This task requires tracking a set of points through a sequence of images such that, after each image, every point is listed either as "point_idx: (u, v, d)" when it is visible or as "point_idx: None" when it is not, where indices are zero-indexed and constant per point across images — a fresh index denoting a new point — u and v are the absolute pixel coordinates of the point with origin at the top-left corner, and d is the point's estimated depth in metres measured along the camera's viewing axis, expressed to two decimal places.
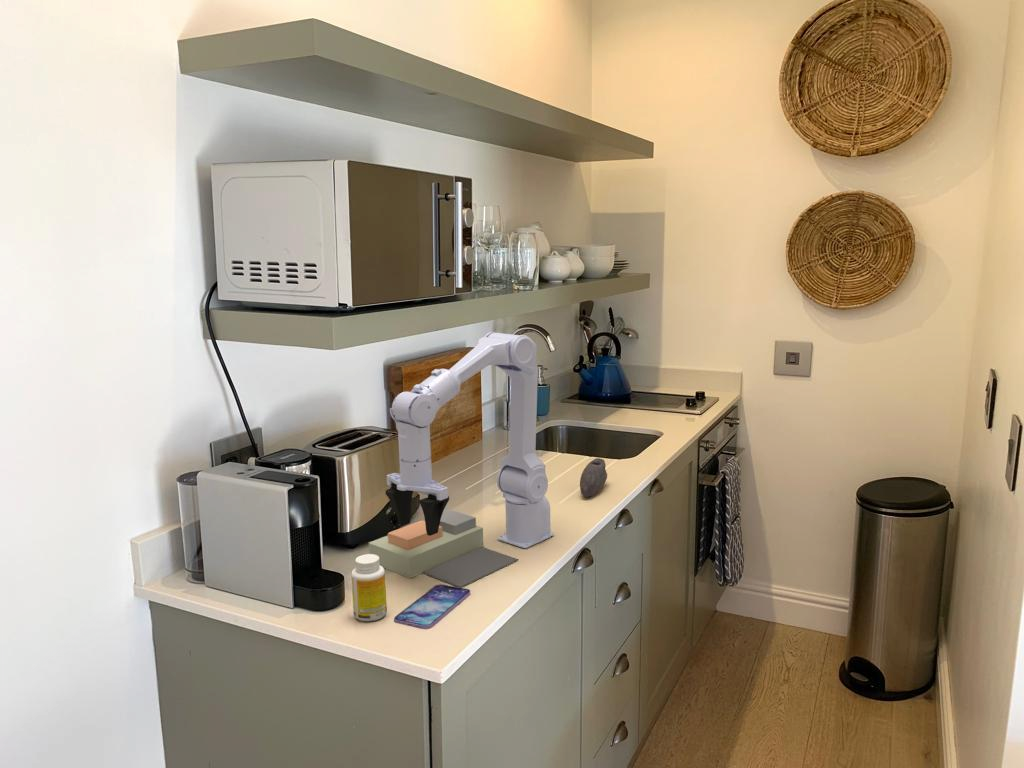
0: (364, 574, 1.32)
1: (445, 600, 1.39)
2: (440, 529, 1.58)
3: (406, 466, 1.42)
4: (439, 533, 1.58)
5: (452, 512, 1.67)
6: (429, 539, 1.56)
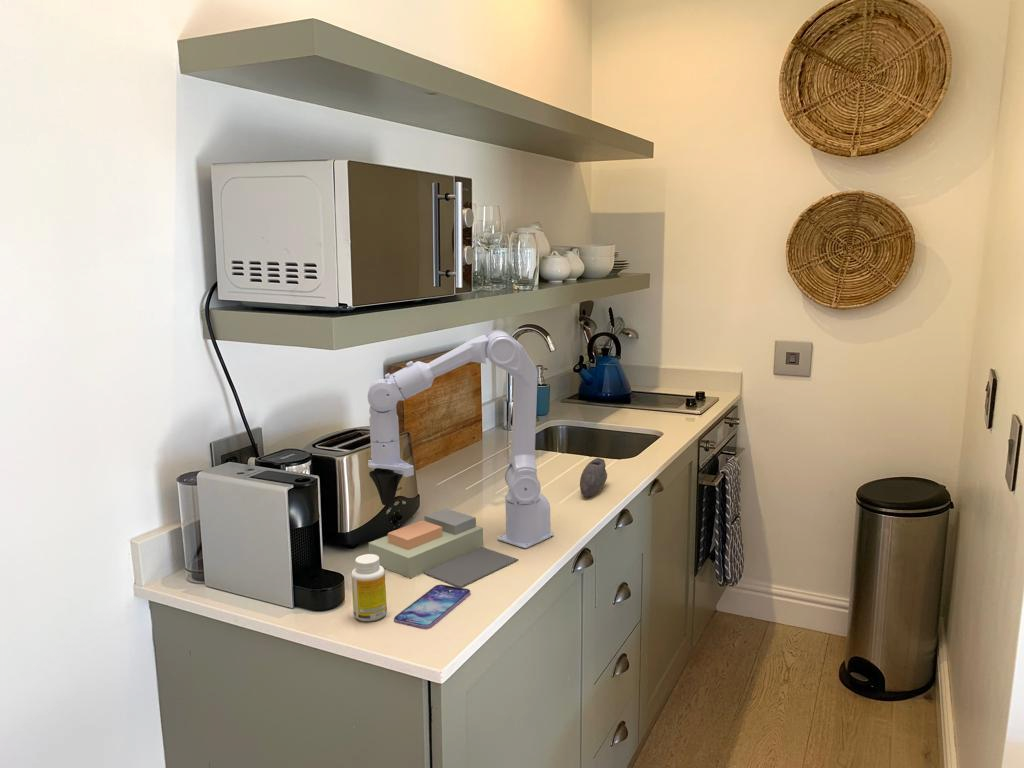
0: (364, 574, 1.32)
1: (445, 600, 1.39)
2: (440, 529, 1.58)
3: (376, 446, 1.57)
4: (439, 533, 1.58)
5: (452, 512, 1.67)
6: (429, 539, 1.56)
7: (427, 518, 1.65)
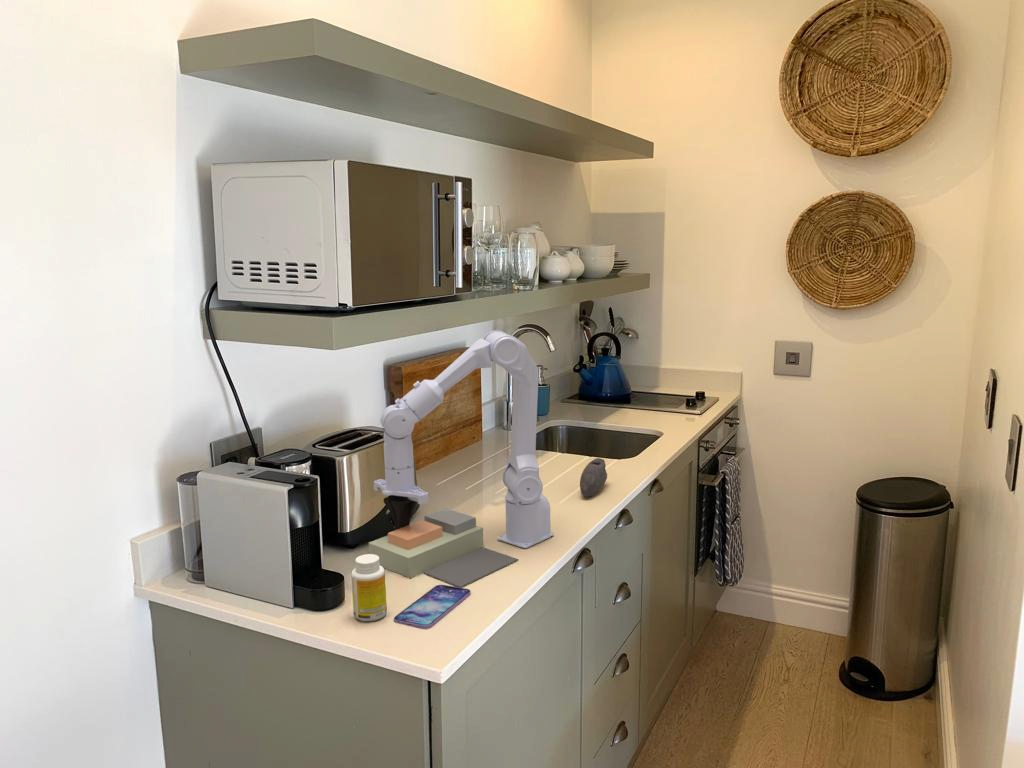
0: (364, 574, 1.32)
1: (445, 600, 1.39)
2: (440, 529, 1.58)
3: (390, 473, 1.55)
4: (439, 533, 1.58)
5: (452, 512, 1.67)
6: (429, 539, 1.56)
7: (427, 518, 1.65)
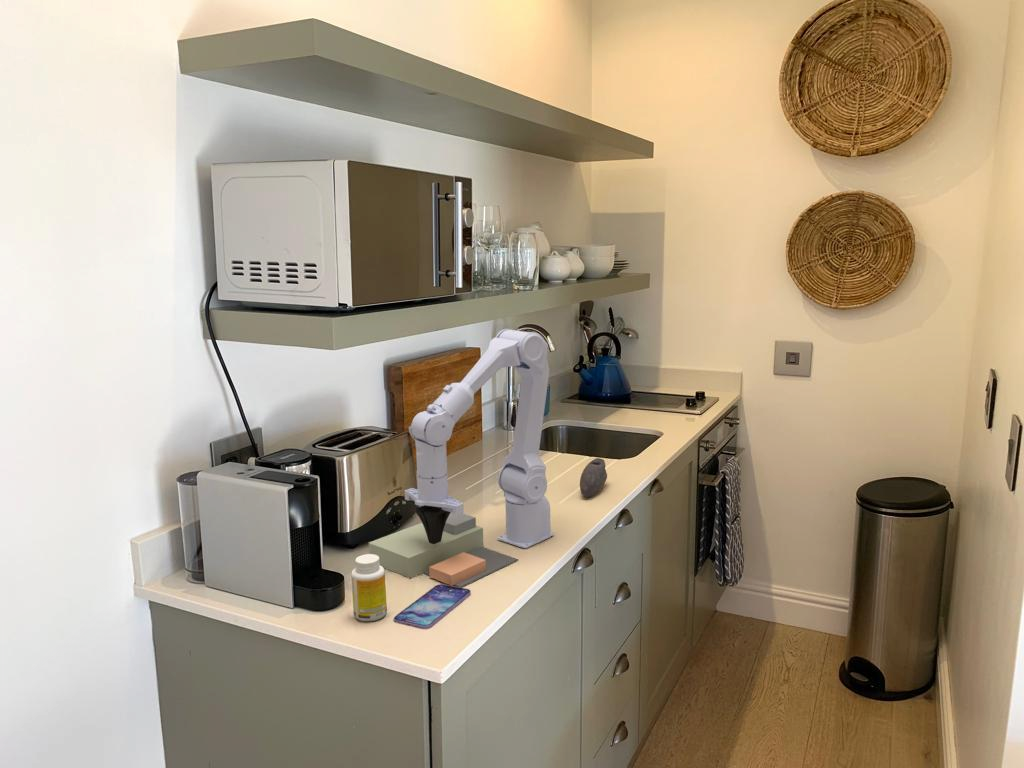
0: (364, 574, 1.32)
1: (445, 600, 1.39)
2: None
3: (424, 482, 1.49)
4: None
5: None
6: None
7: None
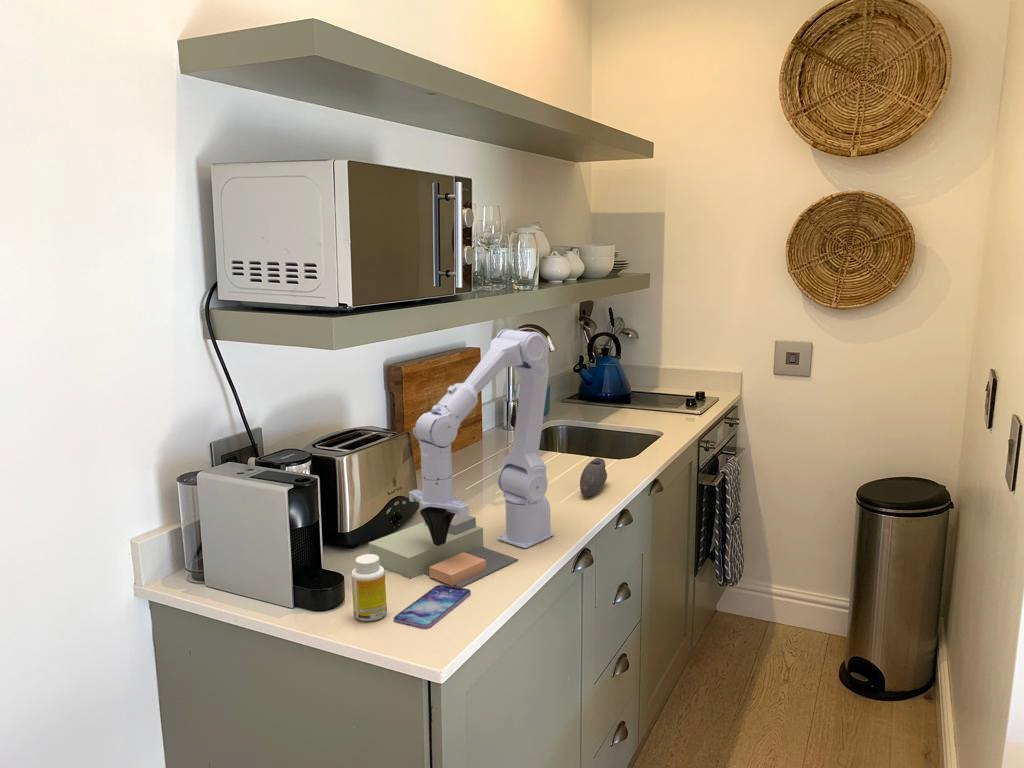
0: (364, 574, 1.32)
1: (445, 600, 1.39)
2: None
3: (428, 484, 1.48)
4: None
5: None
6: None
7: None
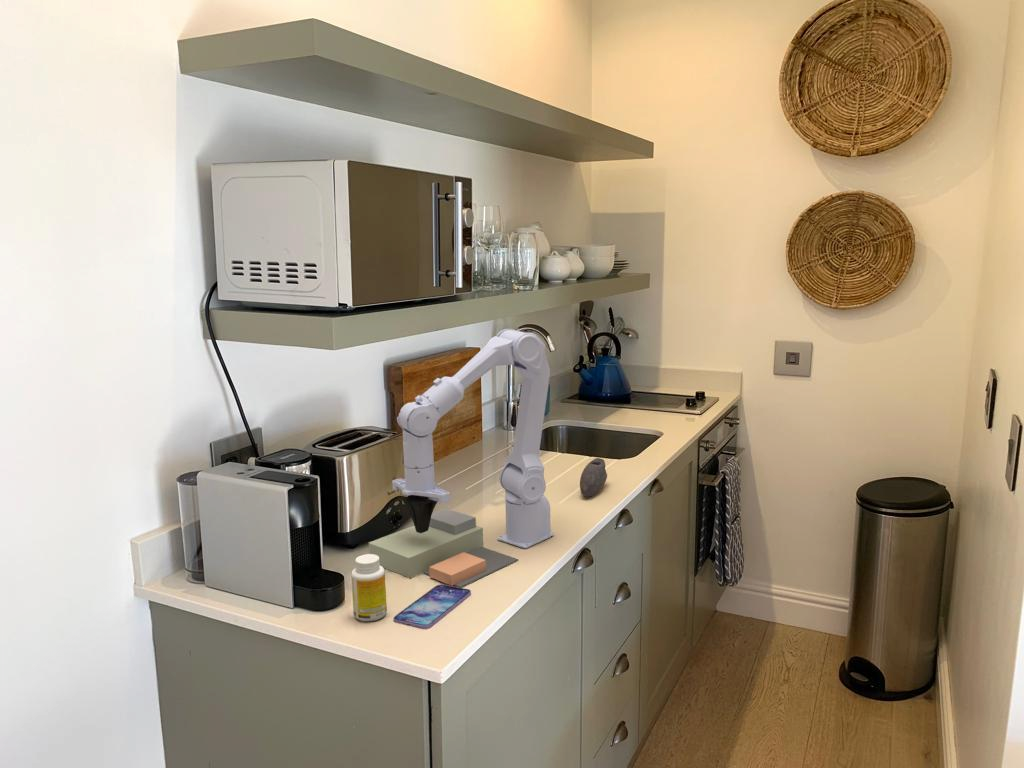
0: (364, 574, 1.32)
1: (445, 600, 1.39)
2: None
3: (410, 472, 1.51)
4: None
5: (452, 512, 1.67)
6: None
7: None
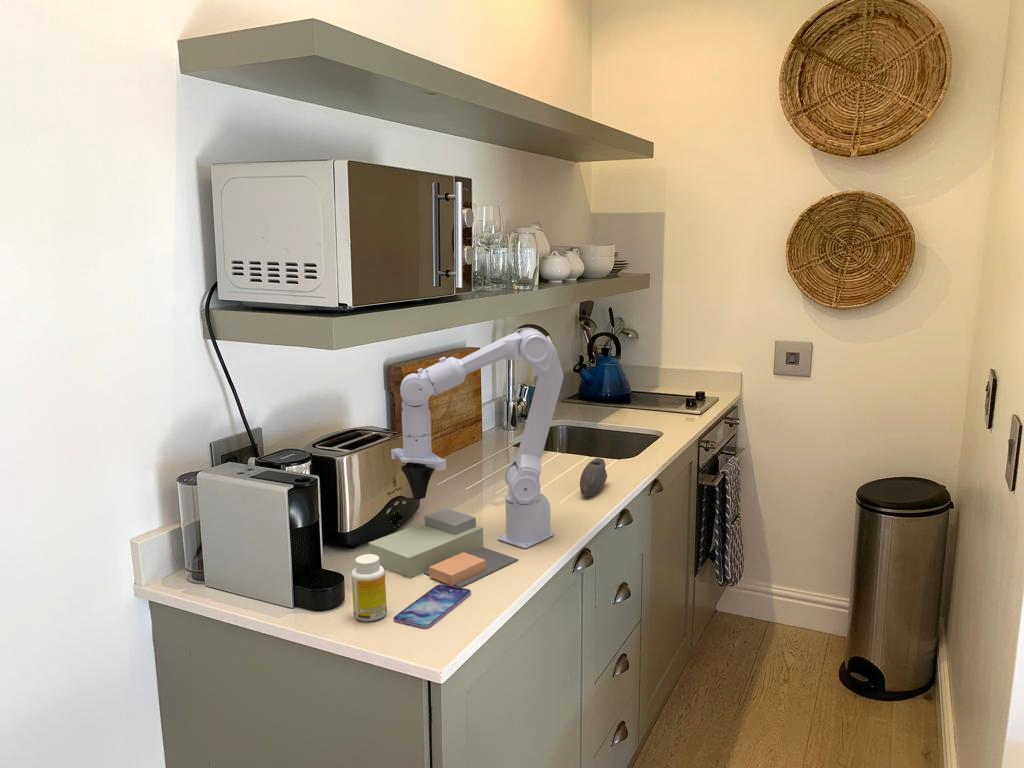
0: (364, 574, 1.32)
1: (445, 600, 1.39)
2: None
3: (408, 440, 1.58)
4: None
5: (452, 512, 1.67)
6: None
7: (427, 518, 1.65)
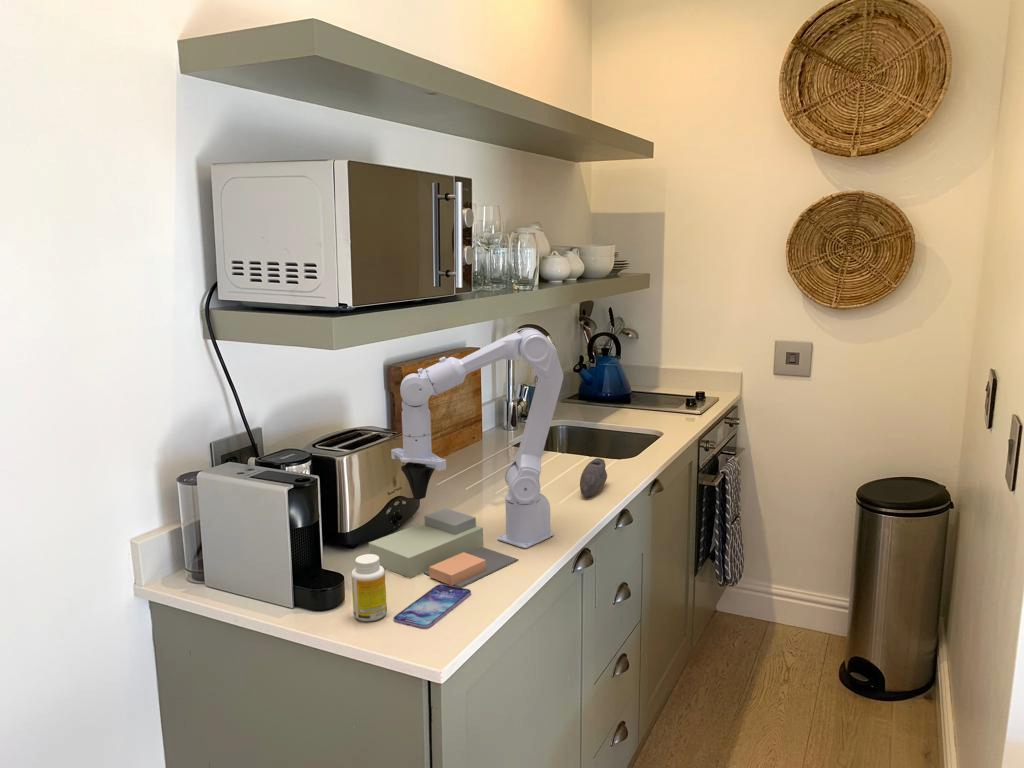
0: (364, 574, 1.32)
1: (445, 600, 1.39)
2: None
3: (408, 440, 1.58)
4: None
5: (452, 512, 1.67)
6: None
7: (427, 518, 1.65)
